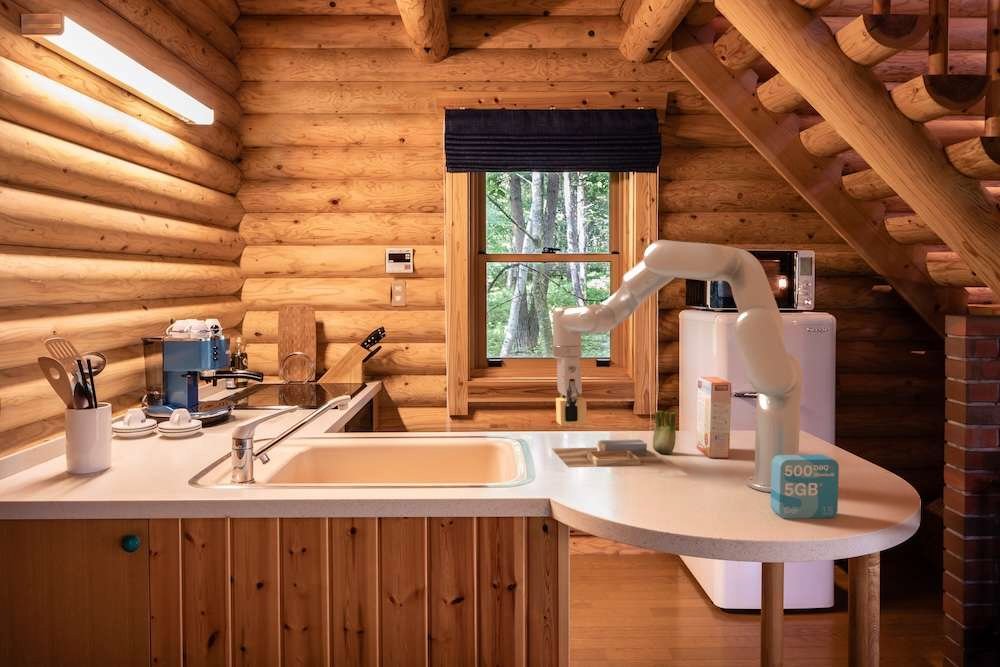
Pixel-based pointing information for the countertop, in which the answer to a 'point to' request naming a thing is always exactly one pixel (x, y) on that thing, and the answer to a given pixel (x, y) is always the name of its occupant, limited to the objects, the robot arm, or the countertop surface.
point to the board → (609, 454)
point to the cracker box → (714, 417)
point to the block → (580, 410)
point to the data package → (804, 486)
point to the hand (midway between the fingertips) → (568, 418)
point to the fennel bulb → (664, 433)
